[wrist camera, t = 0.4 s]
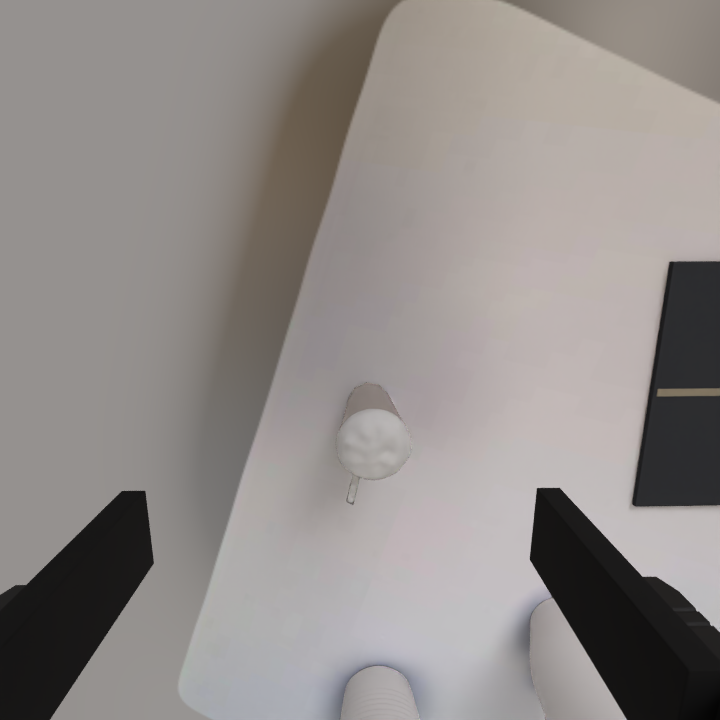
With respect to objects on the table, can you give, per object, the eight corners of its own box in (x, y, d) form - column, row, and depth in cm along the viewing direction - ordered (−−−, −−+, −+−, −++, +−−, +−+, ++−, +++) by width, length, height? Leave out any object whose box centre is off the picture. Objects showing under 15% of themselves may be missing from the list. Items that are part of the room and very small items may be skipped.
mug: (530, 568, 37) (611, 709, 26) (622, 590, 38) (742, 736, 26) (486, 673, 40) (541, 844, 28) (573, 691, 40) (662, 866, 29)
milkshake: (325, 421, 34) (314, 486, 24) (357, 364, 33) (359, 407, 23) (375, 446, 34) (383, 519, 25) (408, 390, 33) (430, 444, 24)
